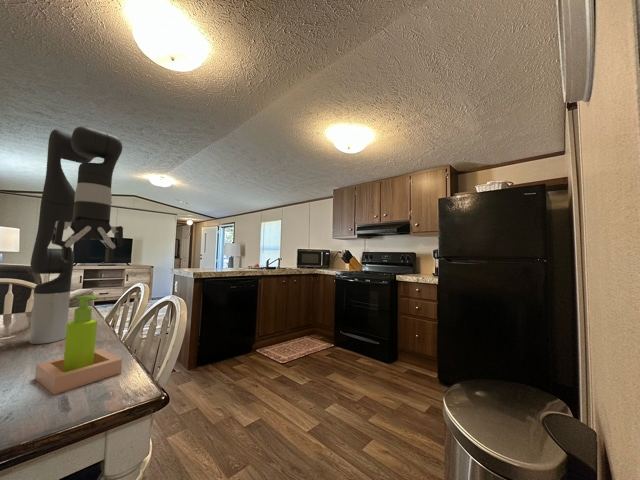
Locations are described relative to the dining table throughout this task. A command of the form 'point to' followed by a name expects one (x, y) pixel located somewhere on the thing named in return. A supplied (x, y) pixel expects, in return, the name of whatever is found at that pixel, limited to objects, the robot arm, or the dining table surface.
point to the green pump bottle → (80, 337)
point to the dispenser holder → (76, 372)
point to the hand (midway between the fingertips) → (88, 262)
